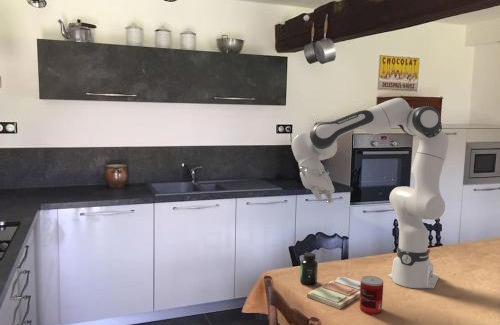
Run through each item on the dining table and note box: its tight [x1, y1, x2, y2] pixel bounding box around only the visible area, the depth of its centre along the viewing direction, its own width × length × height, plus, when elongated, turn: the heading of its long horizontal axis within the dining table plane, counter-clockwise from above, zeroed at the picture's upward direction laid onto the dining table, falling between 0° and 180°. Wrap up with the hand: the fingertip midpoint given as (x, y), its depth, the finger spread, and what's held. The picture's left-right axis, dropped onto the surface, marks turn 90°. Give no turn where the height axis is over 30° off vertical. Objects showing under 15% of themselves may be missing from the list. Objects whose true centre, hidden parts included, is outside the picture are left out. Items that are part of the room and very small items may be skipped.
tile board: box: [306, 276, 361, 310], centre depth 165 cm, size 24×14×2 cm, turn 138°
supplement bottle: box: [299, 252, 319, 287], centre depth 174 cm, size 7×7×12 cm
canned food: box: [359, 275, 384, 315], centre depth 151 cm, size 8×8×11 cm
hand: (325, 200), depth 167 cm, fingers open, 8 cm apart
